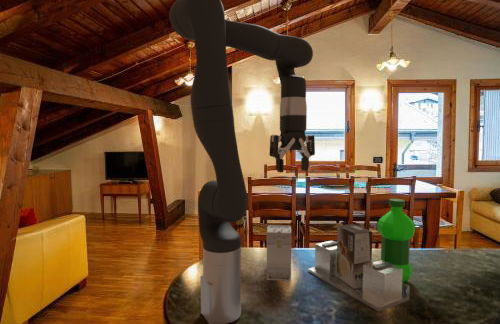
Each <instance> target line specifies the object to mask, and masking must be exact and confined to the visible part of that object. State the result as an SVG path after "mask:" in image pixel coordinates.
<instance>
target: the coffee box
mask: <svg viewBox="0 0 500 324" xmlns="http://www.w3.org/2000/svg"><path fill="white" fill-rule="evenodd" d="M336 230H337V232H336V233H337V234H336V235H337V236H336V238H337V239H336V242H337V277H338V278H339V279H341V280H342V281H344V282H345V283H347V284H348V285H349V286H351V287H352V288H354V289H356V288H362V287H363V265H365V264H368V263H372V262H373V231H372V230H370V229H367V228H364V227H362V226H360V225H358V224H356V223H355V224H354V223H352V224H350V223H349V224H348V223H347V224H343V225H337V227H336Z"/></svg>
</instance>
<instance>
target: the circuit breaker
mask: <svg viewBox="0 0 500 324" xmlns="http://www.w3.org/2000/svg"><path fill="white" fill-rule="evenodd" d="M266 229H267V230H266V281H285V282H286V281H287V282H291V281H292V226H291V225H280V224H279V225H275V224H274V225H272V224H271V225H270V224H269V225H267V228H266Z"/></svg>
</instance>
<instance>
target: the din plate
mask: <svg viewBox="0 0 500 324" xmlns="http://www.w3.org/2000/svg"><path fill="white" fill-rule="evenodd" d="M314 245H315V246H314V247H315V248H314V255H315V256H314V266H313V267H309V268H307V272H308V273H310V274H311V275H314V277H315V276H316V277H317V278H319V279H320V280H322V281H324V282H325V283H327V284H329V285H331V286H333V287H334V288H336V289H337V290H340V291H341V292H342V293H345V294H347V295H349V296H350V297H352V298H353V299H356V300H357V301H359V302H361V303H362V304H364V305H366V306H368V307H370V308H371V309H374V310H375V311H377V312H382V311H384V310H387V309H389V308H392V307H395V306H397V305H400V304H402V303H405V302H408V301H410V290H411V289H410V287H411V285H409V284H406V283H405V282H403V283H402V274H403V269H402V268H399V267H397V266H394V265H393V264H392V263H390V262H384V261H381V260H380V259H379V260H377V261H372V263H368V264H365V265H363V287H362V288H356V289H354V288H352V287H351V286H349V285H348V284H347V283H345V282H344V281H342V280H341V279H339V278H338V277H337V240H336V241H334V240H328V241H324V242H323V241H322V242H317V243H315V244H314Z"/></svg>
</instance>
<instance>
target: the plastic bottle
mask: <svg viewBox="0 0 500 324" xmlns="http://www.w3.org/2000/svg"><path fill="white" fill-rule="evenodd" d="M388 201H389V203H388V206H389V207H390V210H389V211H388V212H387V213H386V214H384V215H383V216H382V217H380V218H379V219H378V221H377V232H378V233H379V235H380V236H381V242H380V245H381V248H380V259H379V261H380V260H381V261H384V262H390V263H392V264H393V265H394V266H397V267H399V268H402V269H403V274H402V283H405V282H407V281H408V280H410V277H411V276H412V273H413V267H412V263H411V262H410V251H411V250H410V248H411V245H410V244H411V239H412V238H413V237H414V235H415V233H416V225H415V222H414V221H413V219H412V218H410V217H409V215H407V214H406V213H405V212H403V208H404V207H405V204H406V203H405V201H406V200H404V199H401V198H389V199H388Z"/></svg>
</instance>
